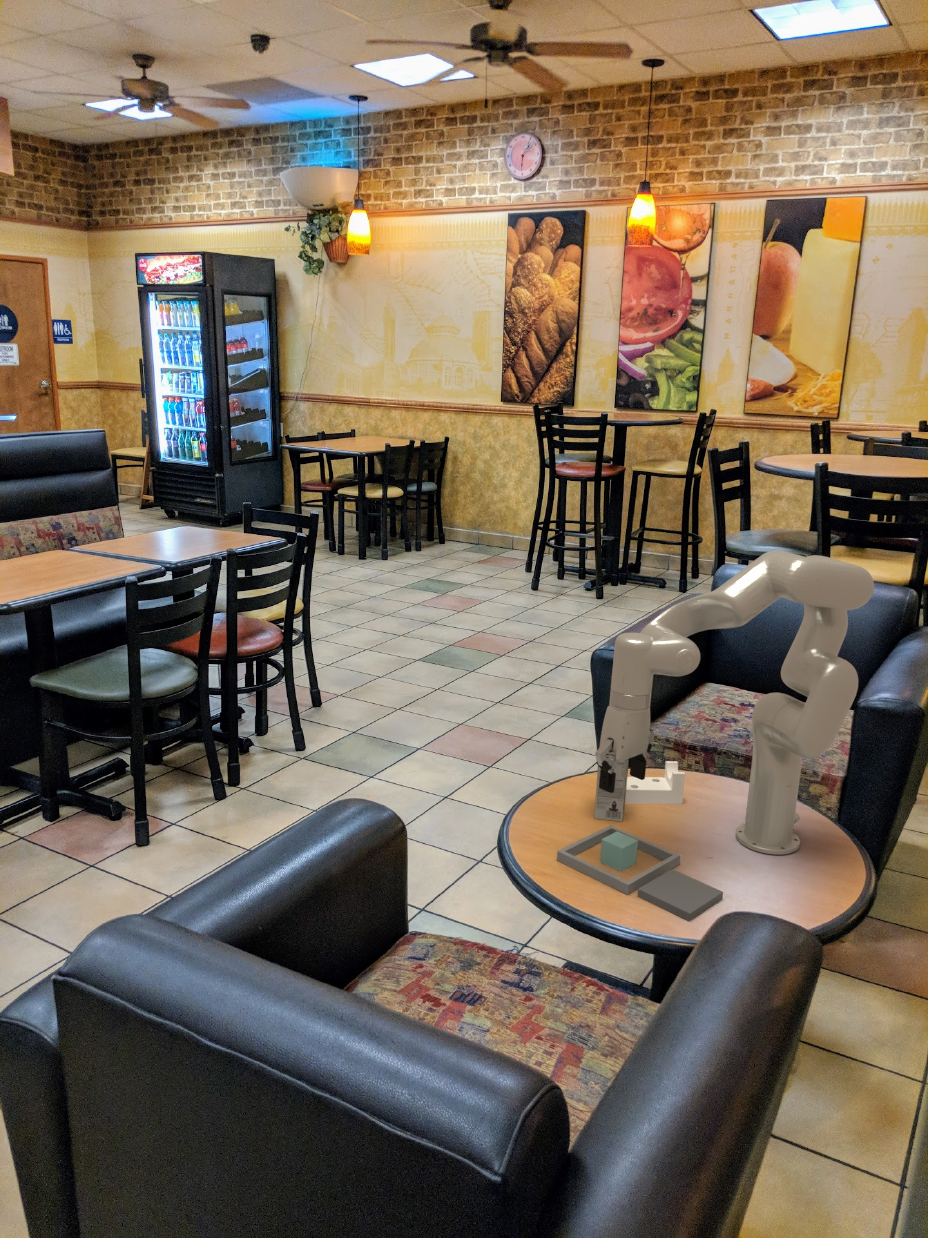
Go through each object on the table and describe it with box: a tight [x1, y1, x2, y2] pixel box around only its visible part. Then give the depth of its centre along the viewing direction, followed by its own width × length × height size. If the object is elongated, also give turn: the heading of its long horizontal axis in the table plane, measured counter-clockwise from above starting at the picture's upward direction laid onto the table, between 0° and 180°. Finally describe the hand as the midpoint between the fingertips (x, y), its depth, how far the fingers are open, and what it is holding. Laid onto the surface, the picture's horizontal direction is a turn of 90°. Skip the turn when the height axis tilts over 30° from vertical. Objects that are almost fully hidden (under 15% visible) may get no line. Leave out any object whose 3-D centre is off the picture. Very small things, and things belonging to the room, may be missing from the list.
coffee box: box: [594, 746, 630, 823], centre depth 205 cm, size 9×6×16 cm
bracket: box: [625, 760, 686, 805], centre depth 214 cm, size 13×7×8 cm, turn 92°
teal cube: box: [599, 831, 638, 873], centre depth 184 cm, size 5×5×5 cm
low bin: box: [556, 824, 681, 895], centre depth 185 cm, size 17×17×2 cm
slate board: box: [636, 868, 724, 922], centre depth 173 cm, size 11×11×2 cm
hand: (622, 783), depth 181 cm, fingers open, 9 cm apart
